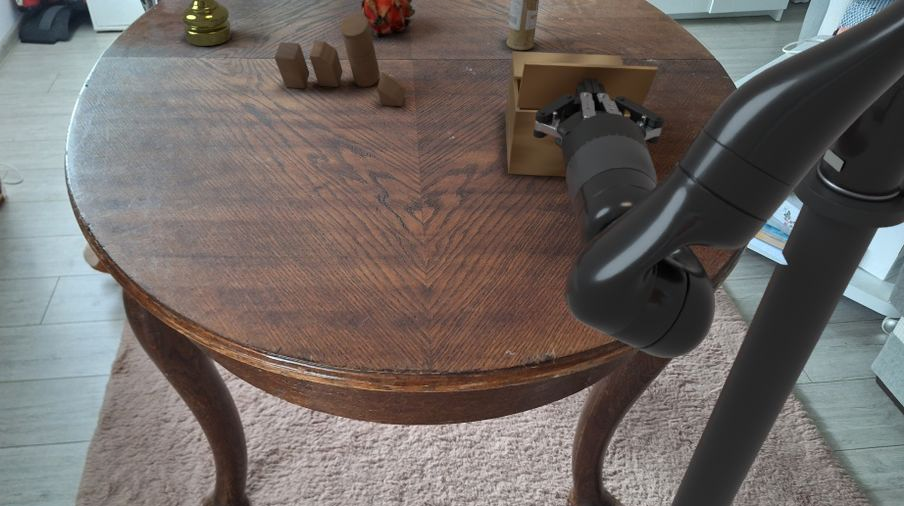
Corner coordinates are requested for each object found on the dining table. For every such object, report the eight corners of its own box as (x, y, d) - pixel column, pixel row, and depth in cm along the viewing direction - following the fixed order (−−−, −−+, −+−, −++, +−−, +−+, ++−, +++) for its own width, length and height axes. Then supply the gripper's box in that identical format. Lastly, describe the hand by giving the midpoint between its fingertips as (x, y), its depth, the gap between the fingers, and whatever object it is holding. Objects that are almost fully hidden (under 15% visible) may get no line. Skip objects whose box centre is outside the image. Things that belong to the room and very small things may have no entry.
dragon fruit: (400, 24, 130) (385, 62, 123) (361, -6, 127) (342, 30, 120) (428, -10, 124) (413, 27, 117) (387, -43, 122) (370, -7, 114)
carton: (607, 120, 101) (620, 55, 95) (623, 179, 90) (639, 110, 84) (505, 115, 102) (512, 51, 96) (508, 174, 91) (516, 105, 85)
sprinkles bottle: (536, 51, 118) (548, -36, 110) (508, 51, 118) (517, -36, 109) (530, 39, 122) (541, -46, 113) (503, 40, 122) (512, -45, 113)
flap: (657, 66, 77) (657, 69, 77) (639, 110, 84) (639, 113, 84) (524, 61, 78) (524, 64, 78) (516, 104, 85) (516, 107, 85)
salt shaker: (180, 34, 122) (167, -28, 116) (222, 26, 125) (213, -35, 119) (194, 50, 117) (182, -13, 111) (238, 41, 120) (229, -22, 114)
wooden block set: (284, 104, 109) (264, 54, 100) (300, 60, 112) (282, 7, 103) (403, 114, 105) (393, 63, 96) (415, 68, 109) (406, 15, 100)
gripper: (695, 140, 63) (658, 55, 76) (540, 133, 64) (529, 50, 77) (674, 212, 68) (642, 120, 81) (530, 204, 69) (521, 115, 82)
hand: (587, 86), depth 79 cm, fingers closed
